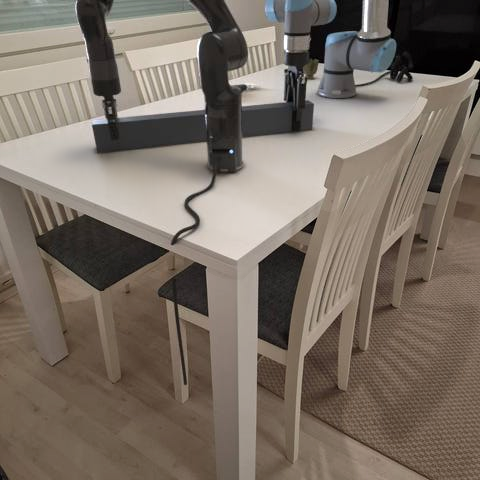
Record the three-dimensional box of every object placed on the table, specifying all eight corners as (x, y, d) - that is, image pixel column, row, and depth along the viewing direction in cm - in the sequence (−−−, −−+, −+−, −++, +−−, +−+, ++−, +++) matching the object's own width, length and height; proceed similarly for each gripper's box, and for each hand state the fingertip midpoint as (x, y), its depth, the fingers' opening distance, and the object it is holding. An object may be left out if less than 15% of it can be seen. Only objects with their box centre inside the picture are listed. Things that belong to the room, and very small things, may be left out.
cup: (298, 79, 205) (299, 60, 201) (304, 76, 210) (305, 58, 206) (314, 80, 202) (315, 62, 198) (319, 77, 207) (321, 59, 203)
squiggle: (400, 92, 202) (376, 71, 205) (417, 76, 202) (392, 56, 205) (405, 81, 191) (380, 59, 194) (423, 64, 191) (397, 42, 194)
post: (97, 152, 130) (91, 124, 125) (97, 147, 134) (91, 120, 129) (312, 129, 144) (314, 103, 140) (306, 125, 148) (308, 100, 144)
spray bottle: (204, 97, 180) (243, 86, 196) (225, 101, 174) (263, 90, 190) (204, 90, 178) (243, 79, 194) (225, 94, 172) (263, 83, 188)
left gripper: (119, 80, 117) (129, 143, 126) (117, 69, 129) (126, 127, 138) (90, 82, 115) (102, 145, 124) (90, 71, 127) (101, 130, 136)
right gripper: (320, 54, 126) (314, 135, 138) (297, 45, 140) (293, 118, 153) (295, 56, 124) (291, 137, 136) (274, 46, 139) (273, 120, 151)
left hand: (115, 136), depth 131 cm, fingers closed on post, 4 cm apart
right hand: (292, 127), depth 144 cm, fingers closed on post, 5 cm apart
